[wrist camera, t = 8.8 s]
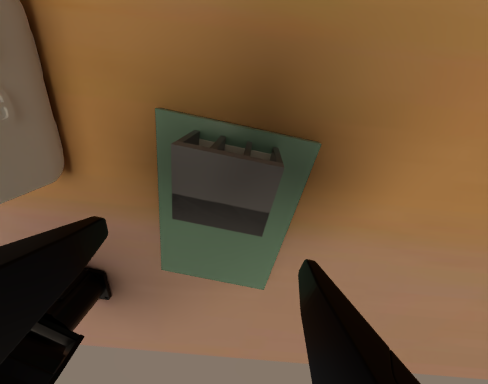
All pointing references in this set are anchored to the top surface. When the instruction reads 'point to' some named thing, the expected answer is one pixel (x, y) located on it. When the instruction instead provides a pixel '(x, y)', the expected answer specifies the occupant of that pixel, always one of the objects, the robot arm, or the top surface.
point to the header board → (220, 240)
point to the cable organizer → (24, 111)
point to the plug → (223, 185)
